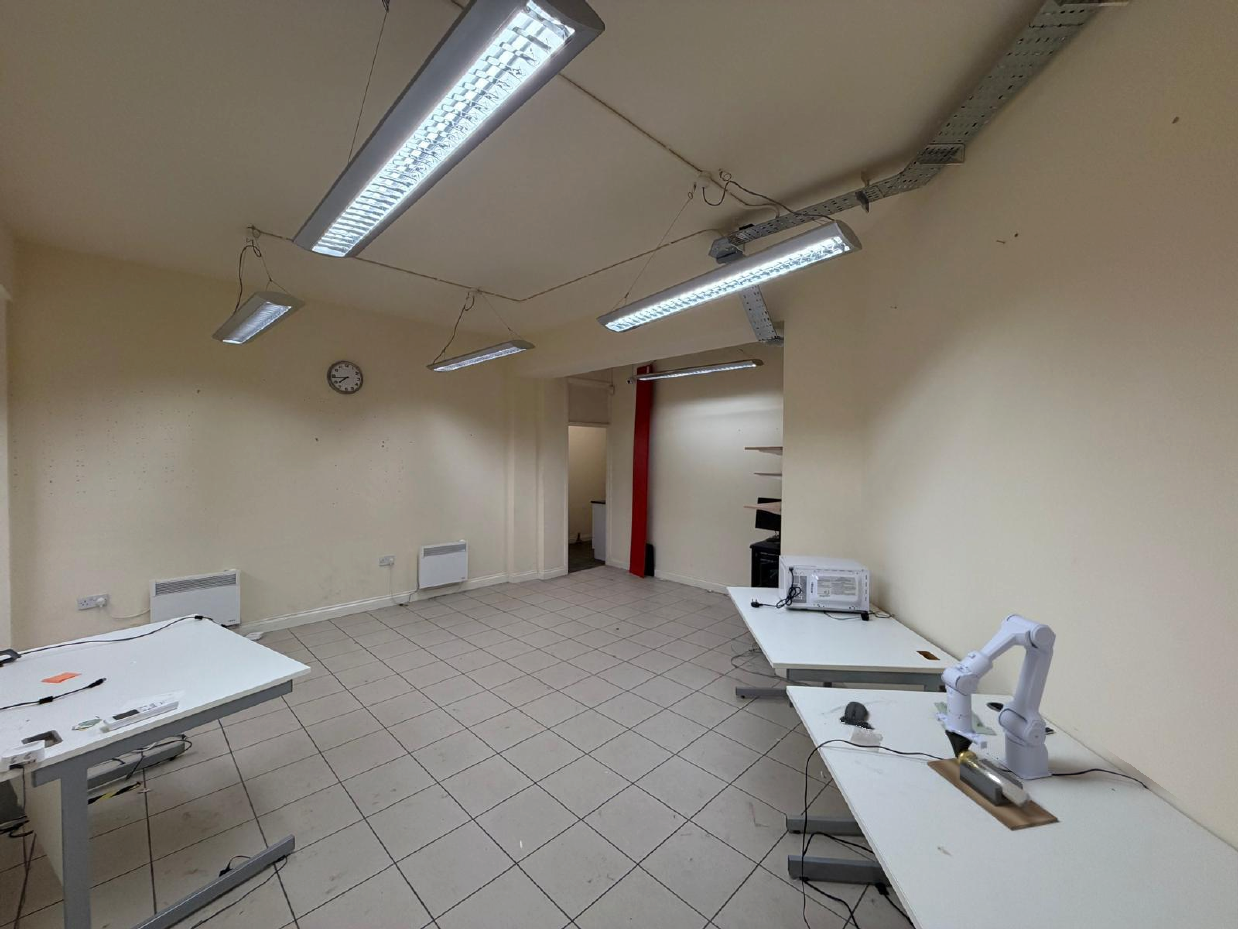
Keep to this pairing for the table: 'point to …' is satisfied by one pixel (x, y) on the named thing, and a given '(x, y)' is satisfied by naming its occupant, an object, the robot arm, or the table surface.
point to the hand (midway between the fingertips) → (960, 757)
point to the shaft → (996, 779)
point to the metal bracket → (975, 721)
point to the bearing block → (986, 783)
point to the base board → (1005, 814)
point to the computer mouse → (856, 715)
